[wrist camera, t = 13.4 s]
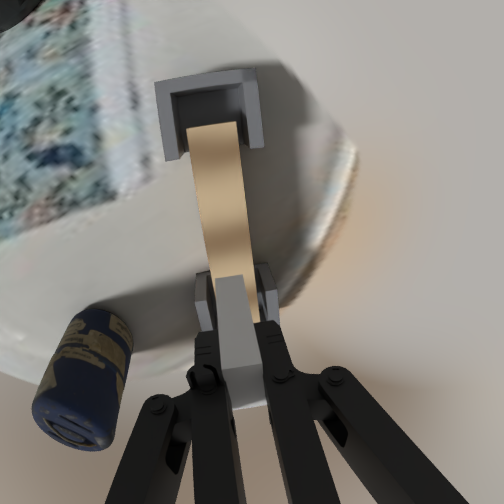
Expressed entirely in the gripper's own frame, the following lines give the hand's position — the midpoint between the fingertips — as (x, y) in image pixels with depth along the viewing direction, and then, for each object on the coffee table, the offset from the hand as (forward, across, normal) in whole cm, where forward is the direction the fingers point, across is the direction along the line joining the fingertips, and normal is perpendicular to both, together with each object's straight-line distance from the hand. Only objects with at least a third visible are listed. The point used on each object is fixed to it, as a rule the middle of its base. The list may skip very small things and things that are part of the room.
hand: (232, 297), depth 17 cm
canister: (+18, -19, -15) cm, 30 cm away
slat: (+17, 0, -2) cm, 17 cm away
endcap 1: (+18, 0, +10) cm, 20 cm away
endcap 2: (+18, 0, -12) cm, 21 cm away
